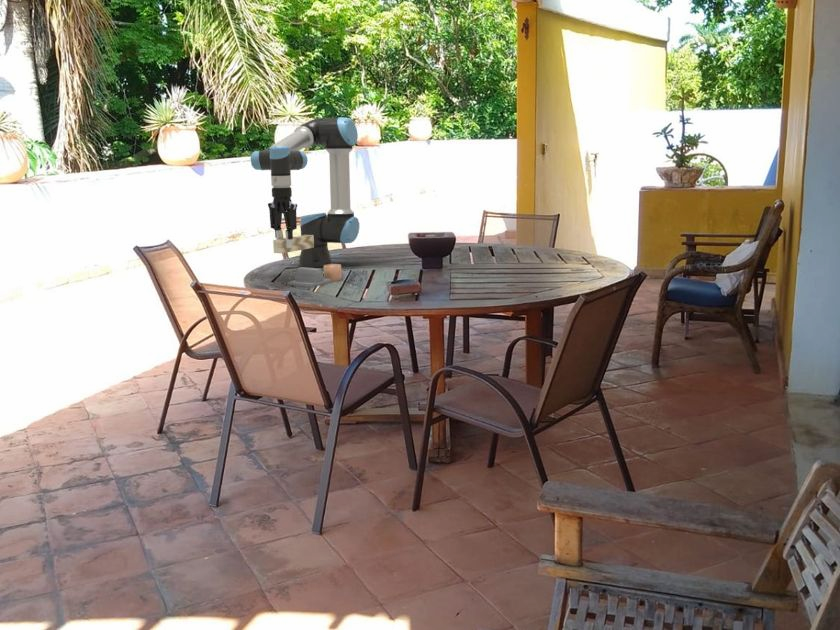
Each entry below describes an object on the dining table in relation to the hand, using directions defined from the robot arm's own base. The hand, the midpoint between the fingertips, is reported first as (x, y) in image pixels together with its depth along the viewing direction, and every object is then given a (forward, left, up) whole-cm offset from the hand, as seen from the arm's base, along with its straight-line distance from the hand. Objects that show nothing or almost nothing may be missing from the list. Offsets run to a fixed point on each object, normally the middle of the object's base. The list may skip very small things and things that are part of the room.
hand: (284, 247), depth 315 cm
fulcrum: (-6, +6, -15) cm, 17 cm away
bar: (-6, 0, -2) cm, 6 cm away
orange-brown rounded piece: (-17, +9, -15) cm, 25 cm away
